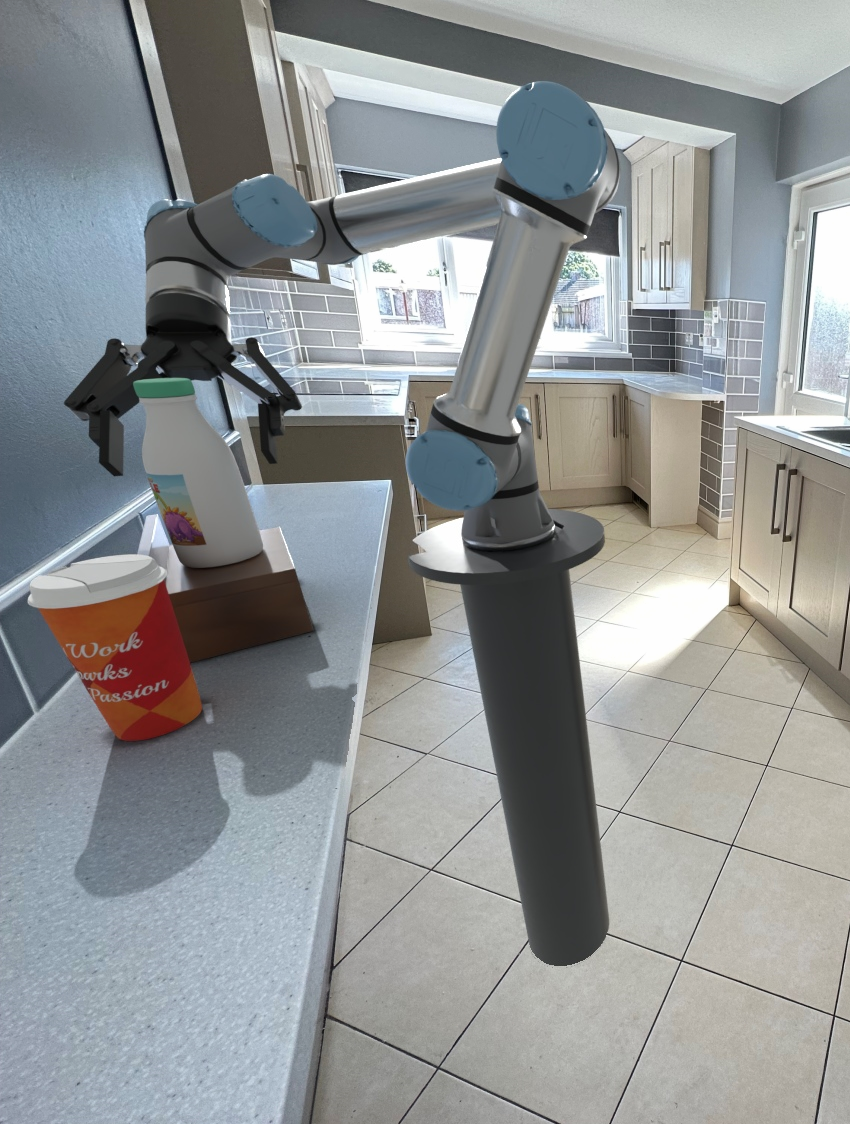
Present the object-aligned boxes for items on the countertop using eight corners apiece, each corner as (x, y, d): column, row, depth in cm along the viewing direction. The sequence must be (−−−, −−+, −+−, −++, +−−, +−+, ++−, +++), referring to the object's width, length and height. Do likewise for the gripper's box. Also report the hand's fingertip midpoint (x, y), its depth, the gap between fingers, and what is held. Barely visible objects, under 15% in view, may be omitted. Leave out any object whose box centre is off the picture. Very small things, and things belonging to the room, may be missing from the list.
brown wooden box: (296, 581, 84) (271, 497, 79) (314, 631, 71) (284, 534, 67) (181, 605, 77) (146, 515, 72) (178, 665, 64) (135, 560, 60)
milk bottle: (259, 540, 76) (205, 374, 68) (270, 557, 71) (213, 379, 63) (177, 556, 71) (109, 378, 63) (183, 575, 66) (110, 385, 58)
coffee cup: (69, 747, 52) (-14, 589, 46) (159, 692, 60) (98, 550, 54) (162, 752, 52) (91, 593, 46) (241, 695, 59) (189, 553, 54)
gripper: (320, 335, 82) (336, 469, 75) (68, 337, 71) (60, 493, 65) (303, 291, 75) (319, 434, 69) (23, 286, 65) (10, 454, 58)
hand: (193, 463), depth 67 cm, fingers open, 13 cm apart
